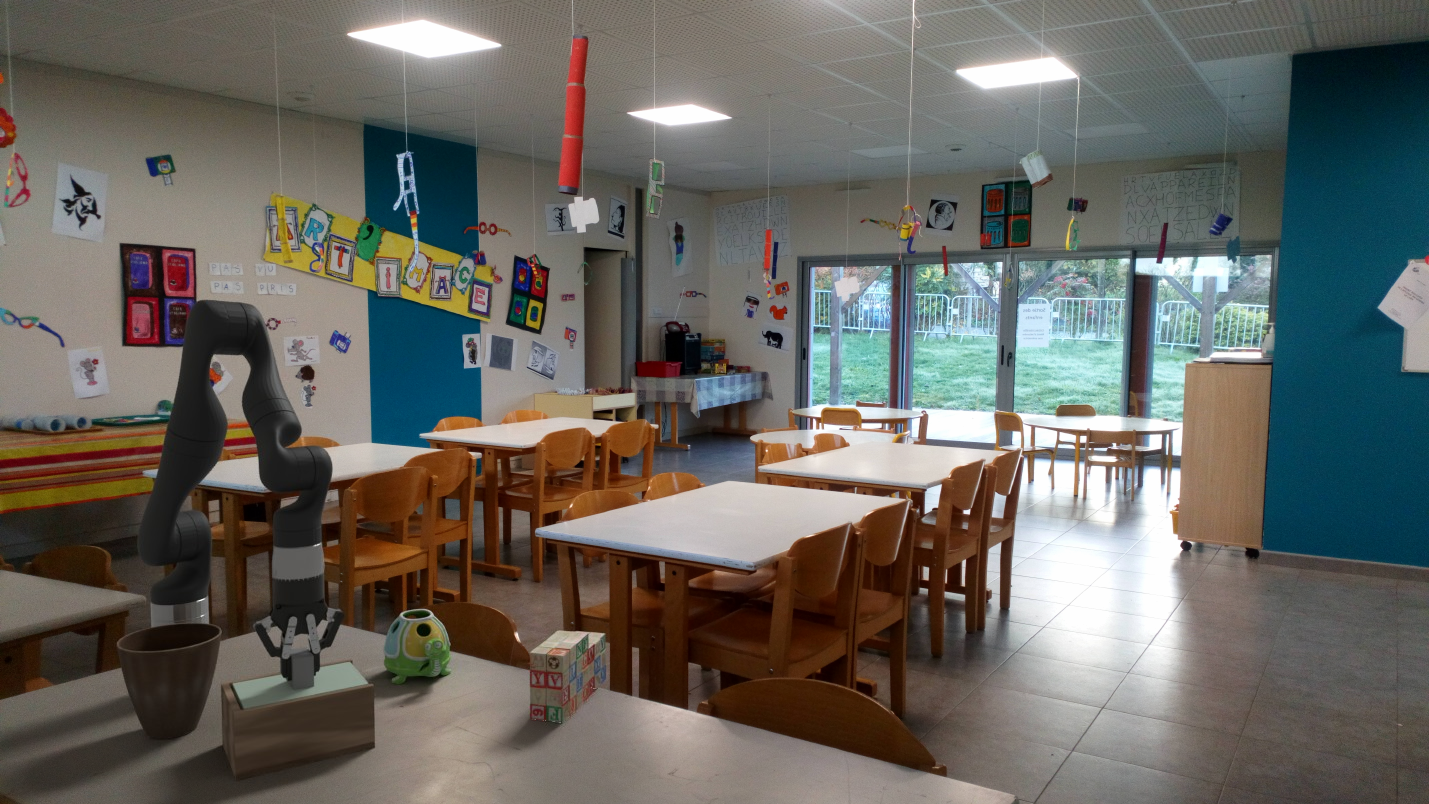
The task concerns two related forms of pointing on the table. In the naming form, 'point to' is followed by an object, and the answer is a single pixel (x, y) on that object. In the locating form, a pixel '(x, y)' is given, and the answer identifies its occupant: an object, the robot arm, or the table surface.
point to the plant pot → (169, 675)
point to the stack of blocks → (565, 673)
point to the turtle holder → (417, 646)
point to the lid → (297, 682)
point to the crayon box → (295, 728)
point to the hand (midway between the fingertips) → (300, 676)
